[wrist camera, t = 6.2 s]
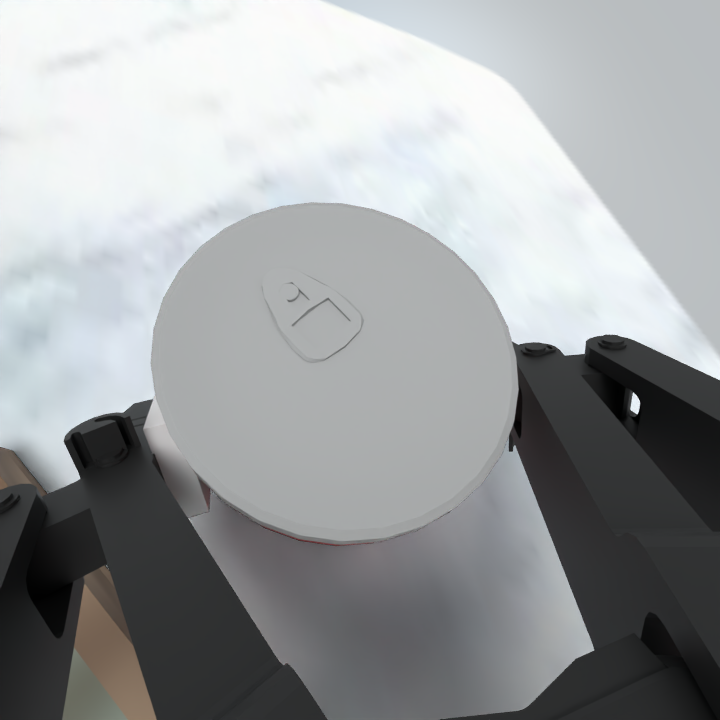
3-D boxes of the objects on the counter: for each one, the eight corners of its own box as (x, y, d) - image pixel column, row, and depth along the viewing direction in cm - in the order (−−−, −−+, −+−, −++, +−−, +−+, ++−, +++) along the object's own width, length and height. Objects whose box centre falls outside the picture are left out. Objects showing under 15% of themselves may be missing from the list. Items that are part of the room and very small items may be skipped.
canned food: (295, 339, 21) (285, 151, 11) (437, 422, 20) (570, 302, 10) (194, 477, 18) (49, 392, 8) (357, 582, 17) (432, 638, 7)
